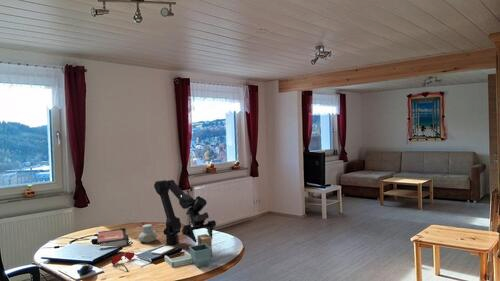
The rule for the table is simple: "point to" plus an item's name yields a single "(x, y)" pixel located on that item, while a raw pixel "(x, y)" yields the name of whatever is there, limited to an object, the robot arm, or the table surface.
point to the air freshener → (147, 234)
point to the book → (113, 238)
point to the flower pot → (200, 254)
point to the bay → (179, 260)
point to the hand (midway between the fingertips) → (204, 240)
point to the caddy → (205, 241)
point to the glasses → (127, 255)
